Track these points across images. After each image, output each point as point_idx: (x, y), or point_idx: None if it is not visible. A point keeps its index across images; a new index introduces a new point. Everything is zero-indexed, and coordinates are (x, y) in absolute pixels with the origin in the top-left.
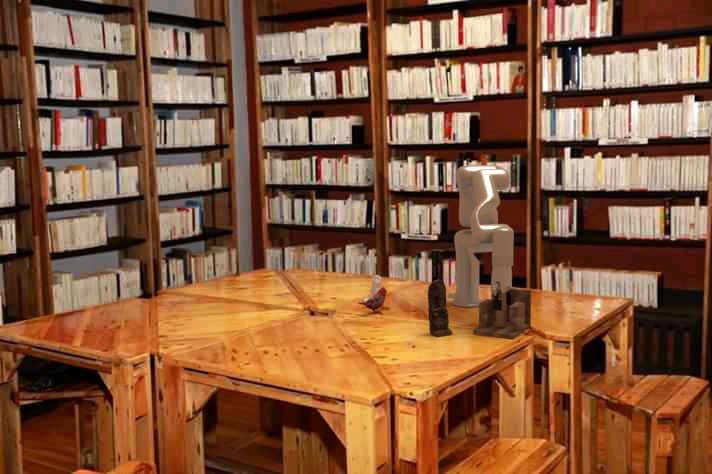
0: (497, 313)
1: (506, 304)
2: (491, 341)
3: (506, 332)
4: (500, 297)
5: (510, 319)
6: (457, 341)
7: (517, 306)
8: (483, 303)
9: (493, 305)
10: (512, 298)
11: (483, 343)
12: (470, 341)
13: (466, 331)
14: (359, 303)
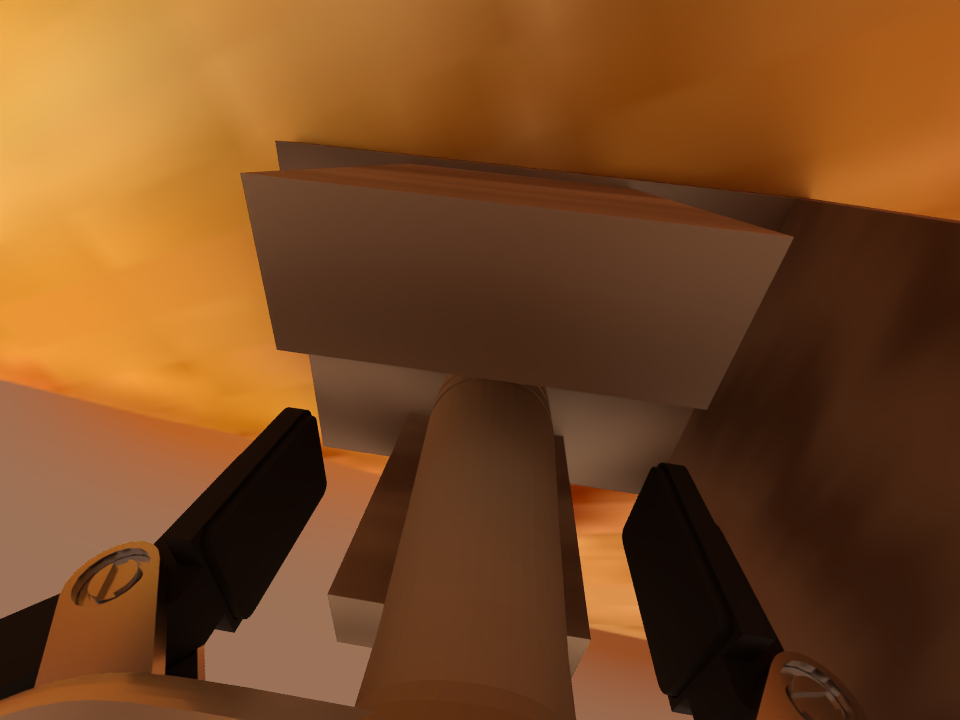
0: (441, 392)
1: (634, 511)
2: (213, 327)
3: (360, 404)
4: (170, 669)
5: (380, 482)
6: (14, 72)
7: (364, 640)
8: (268, 279)
9: (251, 451)
10: (852, 605)
11: (137, 291)
12: (105, 188)
13: (358, 28)
14: None
